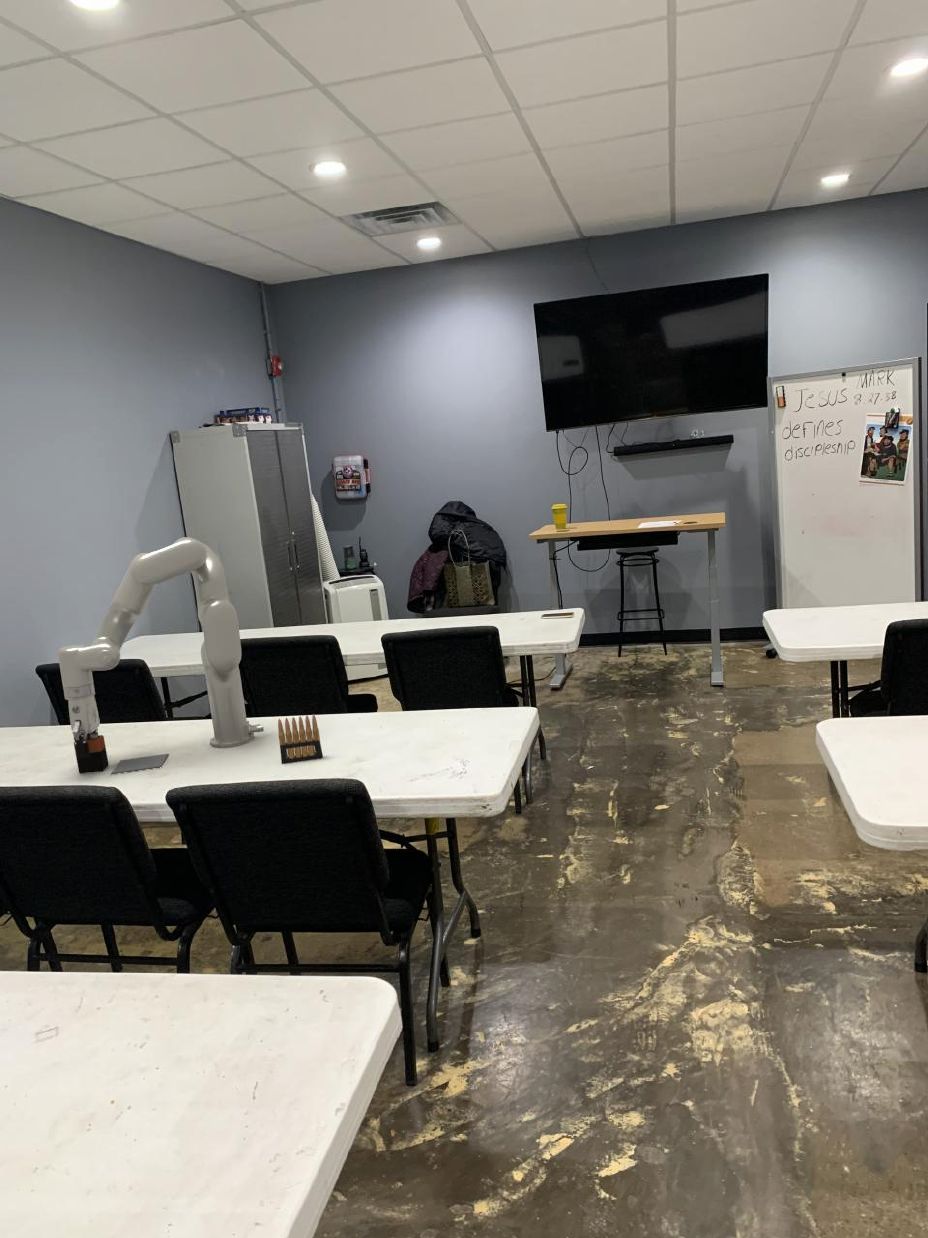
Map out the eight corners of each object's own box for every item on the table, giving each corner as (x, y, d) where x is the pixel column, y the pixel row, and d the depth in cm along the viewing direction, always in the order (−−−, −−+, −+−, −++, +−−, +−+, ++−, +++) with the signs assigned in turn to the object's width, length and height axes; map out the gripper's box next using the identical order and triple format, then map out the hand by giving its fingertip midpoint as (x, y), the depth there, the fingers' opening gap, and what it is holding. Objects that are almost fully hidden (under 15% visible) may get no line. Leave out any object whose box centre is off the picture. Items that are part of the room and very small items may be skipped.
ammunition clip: (322, 756, 228) (317, 712, 226) (322, 758, 226) (316, 714, 224) (282, 762, 227) (275, 718, 225) (281, 764, 225) (275, 720, 223)
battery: (104, 771, 234) (97, 736, 232) (78, 774, 234) (72, 739, 232) (109, 766, 238) (103, 731, 236) (84, 769, 238) (78, 734, 236)
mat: (168, 755, 243) (168, 753, 243) (161, 767, 232) (160, 766, 232) (120, 761, 241) (120, 760, 241) (111, 774, 230) (110, 773, 230)
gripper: (84, 697, 224) (94, 760, 227) (102, 682, 241) (111, 741, 244) (54, 700, 223) (64, 763, 226) (74, 685, 240) (83, 744, 243)
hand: (88, 752), depth 235 cm, fingers open, 9 cm apart
